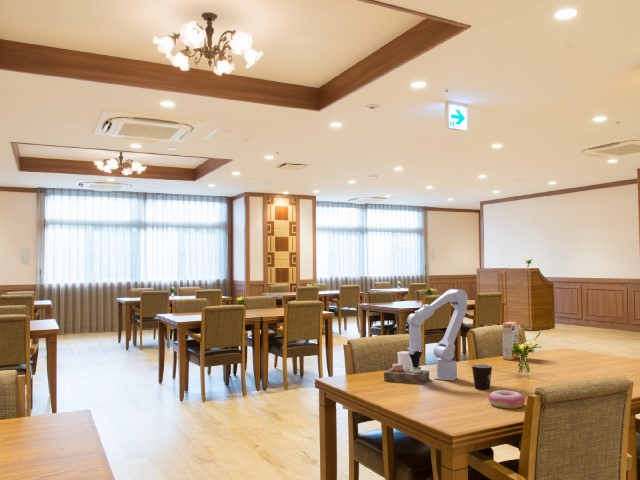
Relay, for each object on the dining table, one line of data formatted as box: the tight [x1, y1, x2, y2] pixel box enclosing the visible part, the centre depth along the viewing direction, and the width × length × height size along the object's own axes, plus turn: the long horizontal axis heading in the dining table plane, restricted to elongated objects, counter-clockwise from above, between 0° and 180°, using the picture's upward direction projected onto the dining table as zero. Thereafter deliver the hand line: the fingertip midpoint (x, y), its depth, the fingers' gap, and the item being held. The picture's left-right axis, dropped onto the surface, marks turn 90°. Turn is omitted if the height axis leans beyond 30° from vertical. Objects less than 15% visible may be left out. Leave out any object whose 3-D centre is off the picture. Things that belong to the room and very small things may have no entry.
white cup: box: [397, 350, 413, 369], centre depth 286 cm, size 8×8×10 cm
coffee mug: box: [471, 363, 493, 391], centre depth 247 cm, size 12×9×10 cm
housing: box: [383, 367, 430, 385], centre depth 266 cm, size 19×12×4 cm, turn 65°
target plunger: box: [391, 363, 403, 372], centre depth 268 cm, size 5×5×4 cm
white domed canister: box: [410, 366, 422, 374], centre depth 264 cm, size 5×5×4 cm
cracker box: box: [502, 321, 519, 361], centre depth 323 cm, size 14×6×21 cm, turn 147°
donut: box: [487, 389, 526, 410], centre depth 217 cm, size 14×13×5 cm
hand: (415, 367), depth 264 cm, fingers closed
